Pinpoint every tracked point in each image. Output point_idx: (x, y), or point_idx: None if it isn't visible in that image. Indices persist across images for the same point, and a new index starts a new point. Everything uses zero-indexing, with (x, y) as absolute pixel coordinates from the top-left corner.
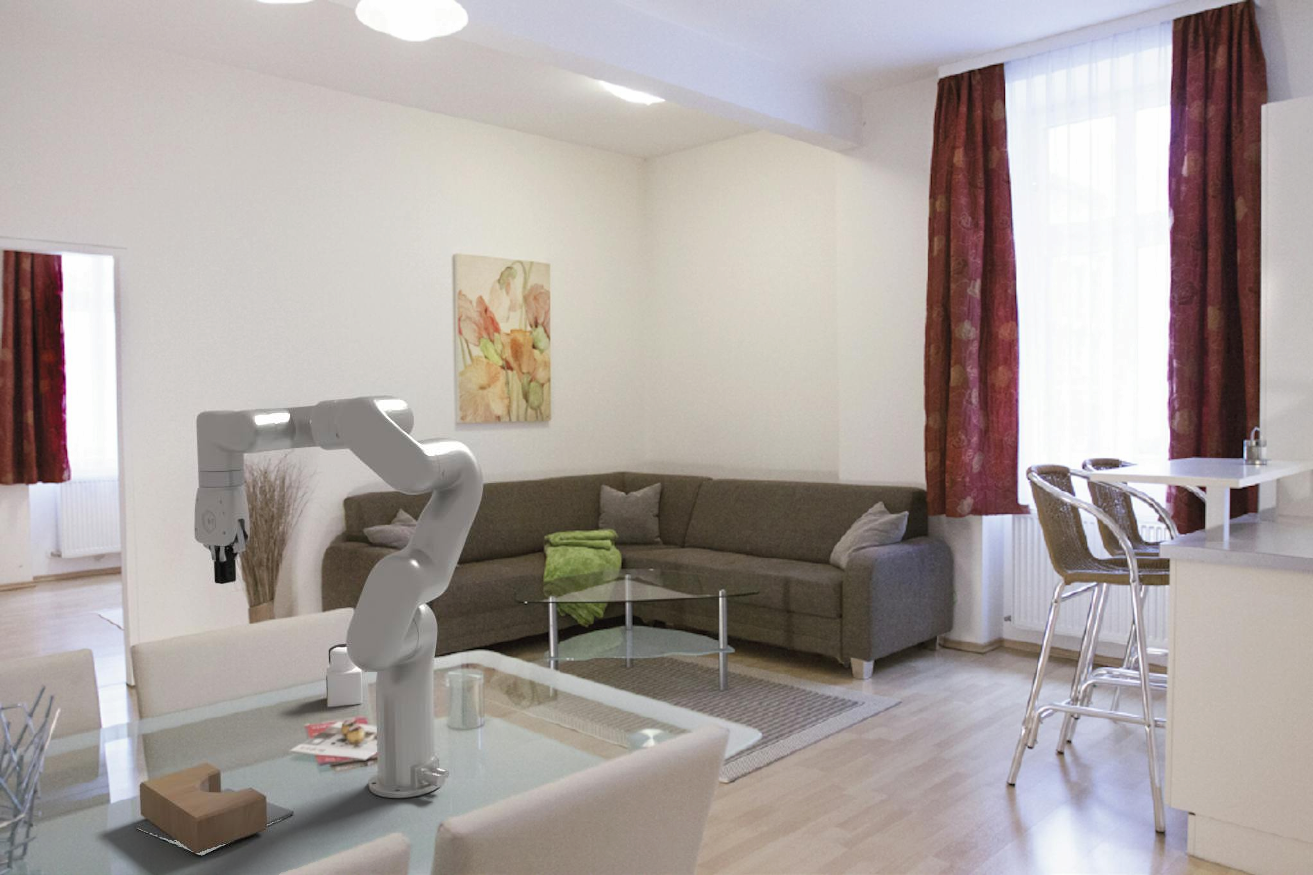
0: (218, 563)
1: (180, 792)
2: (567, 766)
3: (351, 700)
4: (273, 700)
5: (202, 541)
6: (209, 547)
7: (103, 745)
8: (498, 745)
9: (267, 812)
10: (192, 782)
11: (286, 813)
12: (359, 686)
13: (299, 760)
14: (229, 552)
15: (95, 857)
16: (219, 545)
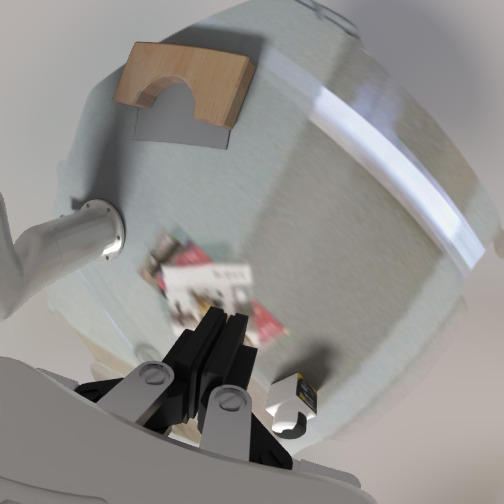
0: (186, 358)
1: (185, 60)
2: (51, 291)
3: (277, 384)
4: (368, 372)
5: (251, 473)
6: (280, 463)
7: (458, 213)
8: (99, 318)
9: (150, 126)
10: (193, 80)
11: (135, 133)
12: (268, 396)
13: (218, 243)
14: (95, 388)
15: (231, 16)
16: (58, 382)
